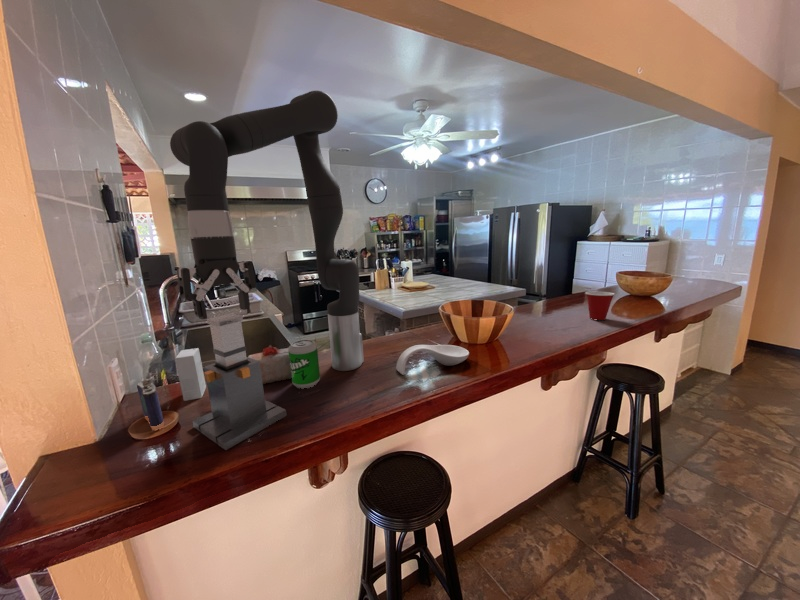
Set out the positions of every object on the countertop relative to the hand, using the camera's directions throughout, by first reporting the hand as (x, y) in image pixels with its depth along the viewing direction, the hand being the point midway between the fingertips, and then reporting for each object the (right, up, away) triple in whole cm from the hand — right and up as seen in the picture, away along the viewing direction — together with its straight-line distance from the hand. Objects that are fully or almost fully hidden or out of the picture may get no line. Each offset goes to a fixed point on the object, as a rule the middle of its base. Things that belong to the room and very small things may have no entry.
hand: (224, 313), depth 67 cm
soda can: (+11, -21, +22) cm, 32 cm away
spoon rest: (+47, -18, +32) cm, 60 cm away
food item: (0, -20, +26) cm, 33 cm away
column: (+1, -25, +5) cm, 25 cm away
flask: (-19, -25, +6) cm, 33 cm away
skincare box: (-18, -23, +18) cm, 34 cm away
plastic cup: (+123, -6, +73) cm, 144 cm away
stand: (+1, -25, +5) cm, 25 cm away
